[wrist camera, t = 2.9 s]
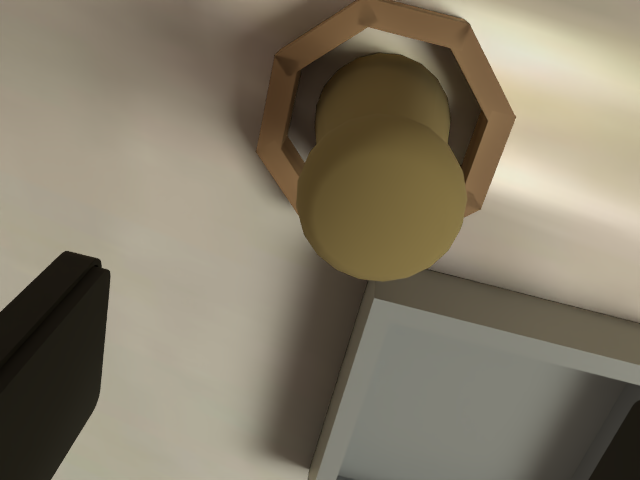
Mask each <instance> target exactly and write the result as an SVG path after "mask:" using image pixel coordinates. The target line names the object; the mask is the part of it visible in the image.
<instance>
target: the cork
mask: <svg viewBox="0 0 640 480" xmlns="http://www.w3.org/2000/svg"><path fill="white" fill-rule="evenodd" d="M450 122H451V117H450V110H449V104H448V98H447V96H446V94H445V92H444V90H443V88H442V86H441V85H440V83H439V81H438V79H437V78H436V77H435V76H434V75H433V74H432V73H431V72H430V71H429V70H427V69H426V68H425V67H424V66H423V65H422V64H420V63H418V62H416V61H414V60H411V59H409V58H407V57H405V56H402V55H396V54H385V53H377V54H373V55H368V56H364V57H360V58H357V59H355V60H353V61H352V62H350V63H348V64H347V65H345V66H344V67H342V68H340V69H339V70H338V71H337V72H336V73H335V74H334V75H333V77H332V78H331V79H330V80H329V81H328V83H327V84H326V85H325V86H324V88H323V91H322V93H321V96H320V98H319V101H318V103H317V105H316V117H315V134H316V146H315V147H314V148H313V149H312V150H311V151H310V153H309V155H308V157H307V160H306V162H305V164H304V167H303V169H302V172H301V174H300V176H299V179H298V182H297V199H296V207H297V211H298V214H299V218H300V222H301V225H302V229H303V232H304V235H305V237H306V238H307V240H308V241H309V243H310V244H311V246H312V247H313V249H314V250H315V252H316V253H317V255H319V256H320V257H321V258H322V259H323V260H325V261H326V262H327V263H328V264H330V265H331V266H332V267H333V268H335V269H336V270H338V271H341V272H343V273H346V274H348V275H350V276H353V277H355V278H358V279H364V280H373V281H382V282H384V281H390V280H397V279H403V278H408V277H410V276H412V275H414V274H417V273H419V272H421V271H423V270H425V269H427V268H429V267H431V266H432V265H433V264H434V263H435V262H436V261H437V260H438V259H440V258H441V257H442V256H443V255H444V254H445V253H446V252H447V251H448V250H449V248H450V247H451V245H452V243H453V241H454V240H455V238H456V236H457V234H458V233H459V231H460V229H461V226H462V223H463V218H464V213H465V208H466V202H467V194H466V187H465V181H464V174H463V171H462V169H461V167H460V165H459V163H458V161H457V159H456V157H455V156H454V154H453V152H452V150H451V148H450V146H449V145H448V136H449V129H450Z"/></svg>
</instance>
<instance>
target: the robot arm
mask: <svg viewBox="0 0 640 480" xmlns="http://www.w3.org/2000/svg"><path fill="white" fill-rule="evenodd" d="M109 288H110V271H109V270H107V269H103V268H102V265H101V261H100V260H99V259H98V258H94V257H90V256H86V255H82V254H78V253H74V252H69V251H65V252H63V253H62V254H61V255H60V256H59V257H57V258H56V259H55V260H54V261H53V262H52V263H51V264H50V265H49V266H48V267H47V268H46V269H45V270H44V271H43V272H42V273H41V274H40V275H39V276H38V277H37V278H35V279H34V280H33V281H32V282H31V283H30V284H29V285H28V286H27V287H26V288H25V289H24V290H23V291H22V292H21V293H20V294H19V295H18V296H17V297H16V298H15V299H13V300H12V301H11V302H10V303H9V304H8V305H7V306H6V307H5V308H4V309H3V310H2V311H1V312H0V480H51V479H52V477H53V475H54V474H55V472H56V471H57V469H58V467H59V466H60V464H61V463H62V461H63V459H64V458H65V456H66V454H67V453H68V451H69V450H70V448H71V446H72V445H73V443H74V442H75V440H76V438H77V437H78V435H79V433H80V432H81V430H82V429H83V427H84V425H85V424H86V422H87V420H88V419H89V417H90V416H91V414H92V412H93V410H94V409H95V406H96V404H97V401H98V398H99V394H100V387H101V376H102V365H103V354H104V343H105V332H106V321H107V310H108V299H109ZM588 480H640V400H639V401H637V402H635V403H634V405H633V406H632V407H631V409H630V411H629V412H628V414H627V416H626V417H625V419H624V421H623V422H622V424H621V426H620V427H619V429H618V431H617V433H616V434H615V436H614V438H613V439H612V441H611V443H610V444H609V446H608V448H607V449H606V451H605V453H604V454H603V456H602V458H601V459H600V461H599V463H598V464H597V466H596V468H595V469H594V471H593V473H592V474H591V476H590V478H589V479H588Z"/></svg>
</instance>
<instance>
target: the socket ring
mask: <svg viewBox="0 0 640 480" xmlns="http://www.w3.org/2000/svg"><path fill="white" fill-rule="evenodd" d="M367 27H370V28H374V29H378V30H382V31H386V32H390V33H393V34H397V35H401V36H405V37H409V38H413V39H417V40H420V41H424V42H428V43H432V44H436V45H440V46H444V47H448V48H450V50H451V52H452V54H453V55H454V57H455V59H456V61H457V63H458V65H459V67H460V69H461V71H462V73H463V75H464V77H465V79H466V81H467V83H468V85H469V87H470V89H471V90H472V92H473V94H474V96H475V98H476V100H477V102H478V104H479V106H480V108H481V112H480V115H479V117H478V120H477V123H476V126H475V129H474V131H473V134H472V137H471V140H470V143H469V146H468V148H467V151H466V154H465V157H464V160H463V162H462V165H461V169H462V171H463V174H464V181H465V187H466V194H467V202H466V208H465V213H464V217H466V216H468V215H470V214H472V213H474V212H476V211H478V210H481V207H482V204H483V202H484V199H485V197H486V194H487V191H488V189H489V186H490V184H491V181H492V178H493V176H494V173H495V171H496V168H497V165H498V163H499V160H500V157H501V155H502V152H503V150H504V147H505V144H506V142H507V139H508V137H509V134H510V131H511V129H512V126H513V124H514V121H515V118H516V116H515V115H514V113H513V111H512V109H511V107H510V105H509V103H508V101H507V99H506V97H505V95H504V93H503V90H502V88H501V86H500V84H499V82H498V80H497V78H496V76H495V74H494V72H493V70H492V68H491V66H490V64H489V62H488V60H487V58H486V56H485V54H484V52H483V50H482V48H481V46H480V44H479V42H478V40H477V38H476V36H475V34H474V32H473V30H472V28H471V26H470V24H469V23H468V22H467V21H466V20H465V19H461V18H457V17H453V16H449V15H445V14H442V13H438V12H434V11H430V10H426V9H422V8H418V7H414V6H411V5H407V4H403V3H399V2H395V1H391V0H356V1H354V2H353V3H351V4H350V5H348V6H347V7H345V8H344V9H342V10H341V11H339V12H337V13H336V14H334V15H333V16H331V17H330V18H328V19H327V20H325V21H324V22H322V23H320V24H319V25H317V26H316V27H314V28H313V29H311V30H310V31H308V32H307V33H305V34H304V35H302V36H300V37H299V38H297V39H296V40H294V41H293V42H291V43H290V44H288V45H287V46H285V47H283V48H281V49H280V50H279V51H278V52H277V53H276V54H275V55H274V56H275V57H274V62H273V67H272V72H271V77H270V82H269V88H268V93H267V98H266V103H265V108H264V114H263V119H262V124H261V129H260V134H259V140H258V145H257V150H256V153H257V154H258V156H259V157H260V159H261V160H262V162H263V163H264V165H265V166H266V167H267V169H268V170H269V172H270V173H271V175H272V176H273V178H274V179H275V181H276V182H277V184H278V185H279V187H280V188H281V190H282V191H283V193H284V194H285V196H286V197H287V199H288V200H289V202H290V203H291V205H292V206H293V208H294V209H295V211H296V212H297V214H298V211H297V207H296V199H297V182H298V179H299V176H300V174H301V172H302V169H303V167H304V164H305V163H304V161H303V159H302V158H301V156H300V155H299V153H298V152H297V150H296V149H295V147H294V145H293V144H292V142H291V141H290V139H289V138H288V136H287V135H288V131H289V126H290V121H291V117H292V112H293V107H294V103H295V98H296V93H297V89H298V84H299V79H300V75H301V70H302V68H304V67H305V66H307V65H309V64H310V63H312V62H313V61H315V60H316V59H318V58H320V57H321V56H323V55H324V54H326V53H328V52H329V51H331V50H332V49H334V48H336V47H337V46H339V45H340V44H342V43H343V42H345V41H347V40H348V39H350V38H351V37H353V36H355V35H356V34H358V33H359V32H361V31H363V30H364V29H366V28H367ZM298 215H299V214H298Z"/></svg>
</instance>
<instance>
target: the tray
mask: <svg viewBox="0 0 640 480" xmlns="http://www.w3.org/2000/svg"><path fill="white" fill-rule="evenodd" d="M639 400H640V323H636V322H632V321H628V320H624V319H620V318H616V317H612V316H608V315H604V314H601V313H597V312H593V311H589V310H585V309H581V308H577V307H573V306H569V305H565V304H561V303H557V302H553V301H549V300H545V299H541V298H538V297H534V296H530V295H526V294H522V293H518V292H514V291H510V290H506V289H502V288H498V287H494V286H490V285H486V284H482V283H478V282H475V281H471V280H467V279H463V278H459V277H455V276H451V275H447V274H443V273H439V272H435V271H431V270H427V269H425V270H423V271H421V272H419V273H417V274H414V275H412V276H410V277H408V278H403V279H397V280H390V281H384V282H382V281H373V280H368V283H367V286H366V289H365V292H364V295H363V299H362V302H361V305H360V308H359V312H358V315H357V318H356V321H355V324H354V328H353V331H352V334H351V337H350V341H349V344H348V347H347V350H346V353H345V357H344V360H343V363H342V366H341V369H340V373H339V376H338V379H337V382H336V386H335V389H334V392H333V395H332V398H331V402H330V405H329V408H328V411H327V415H326V418H325V421H324V424H323V427H322V431H321V434H320V437H319V440H318V444H317V447H316V450H315V453H314V456H313V460H312V463H311V466H310V469H309V475H308V480H588V479H589V478H590V476H591V474H592V473H593V471H594V469H595V468H596V466H597V464H598V463H599V461H600V459H601V458H602V456H603V454H604V453H605V451H606V449H607V448H608V446H609V444H610V443H611V441H612V439H613V438H614V436H615V434H616V433H617V431H618V429H619V427H620V426H621V424H622V422H623V421H624V419H625V417H626V416H627V414H628V412H629V411H630V409H631V407H632V406H633V405H634V403H635V402H637V401H639Z"/></svg>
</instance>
